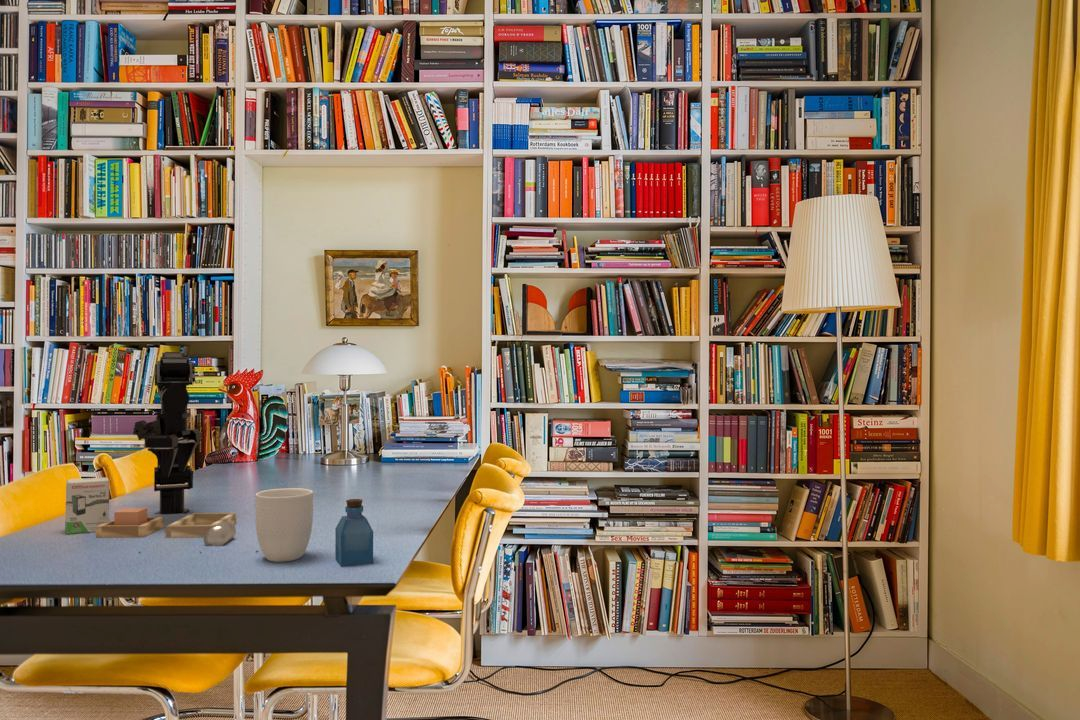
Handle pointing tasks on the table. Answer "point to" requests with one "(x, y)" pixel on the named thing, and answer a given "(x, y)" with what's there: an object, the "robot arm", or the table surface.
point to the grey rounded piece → (219, 534)
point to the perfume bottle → (354, 537)
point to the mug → (284, 522)
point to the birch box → (197, 524)
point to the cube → (130, 516)
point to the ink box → (86, 504)
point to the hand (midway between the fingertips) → (173, 474)
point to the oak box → (129, 529)
